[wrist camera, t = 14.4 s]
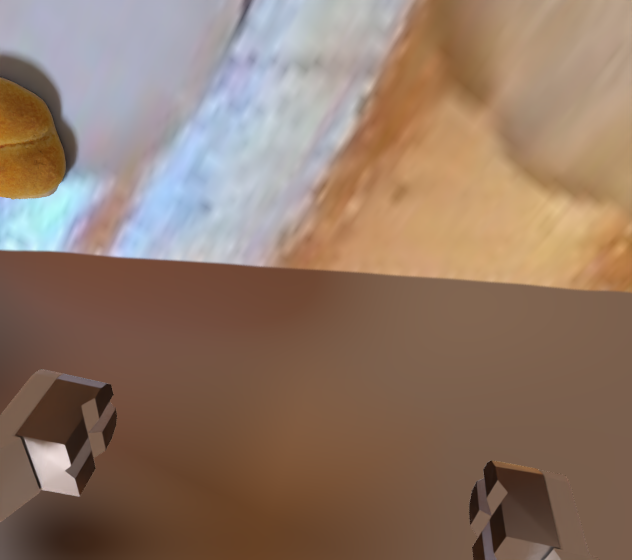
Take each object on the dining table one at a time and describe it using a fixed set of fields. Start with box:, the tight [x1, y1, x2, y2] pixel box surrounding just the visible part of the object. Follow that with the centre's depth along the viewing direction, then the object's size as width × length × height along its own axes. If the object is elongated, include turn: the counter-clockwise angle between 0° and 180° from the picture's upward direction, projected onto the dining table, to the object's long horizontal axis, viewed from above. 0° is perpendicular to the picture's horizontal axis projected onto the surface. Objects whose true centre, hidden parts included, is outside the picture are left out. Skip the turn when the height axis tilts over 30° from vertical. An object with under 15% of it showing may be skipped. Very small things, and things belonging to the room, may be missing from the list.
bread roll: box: [0, 77, 66, 199], centre depth 38 cm, size 8×9×4 cm
